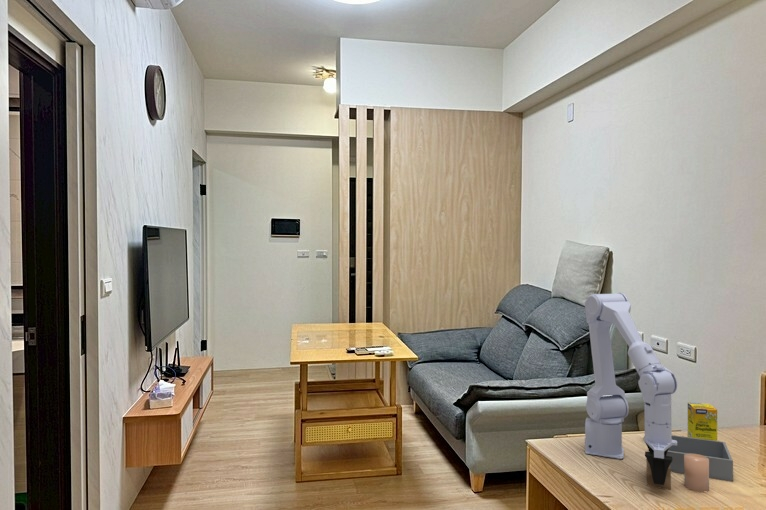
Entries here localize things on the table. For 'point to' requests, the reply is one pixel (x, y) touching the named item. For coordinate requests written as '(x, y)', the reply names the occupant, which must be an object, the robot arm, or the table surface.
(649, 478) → the walnut cube
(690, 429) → the supplement box
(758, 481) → the table surface
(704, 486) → the terracotta cylinder
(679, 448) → the tote
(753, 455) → the table surface
